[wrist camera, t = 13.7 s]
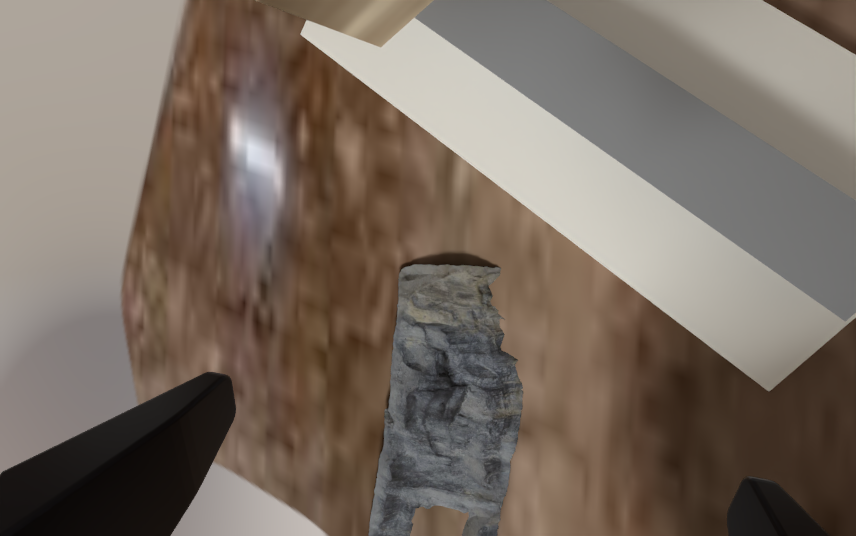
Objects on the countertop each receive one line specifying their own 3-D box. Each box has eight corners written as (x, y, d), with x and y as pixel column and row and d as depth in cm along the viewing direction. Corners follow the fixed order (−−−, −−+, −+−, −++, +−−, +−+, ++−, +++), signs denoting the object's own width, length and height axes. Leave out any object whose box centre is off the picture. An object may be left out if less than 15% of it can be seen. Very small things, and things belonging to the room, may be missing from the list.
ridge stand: (1015, 160, 15) (1107, 161, 12) (764, 380, 18) (782, 426, 15) (421, -190, 19) (372, -255, 16) (314, 39, 23) (258, 20, 20)
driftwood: (412, 238, 24) (389, 246, 22) (563, 277, 21) (553, 289, 19) (360, 600, 29) (339, 631, 27) (475, 664, 27) (460, 702, 25)
